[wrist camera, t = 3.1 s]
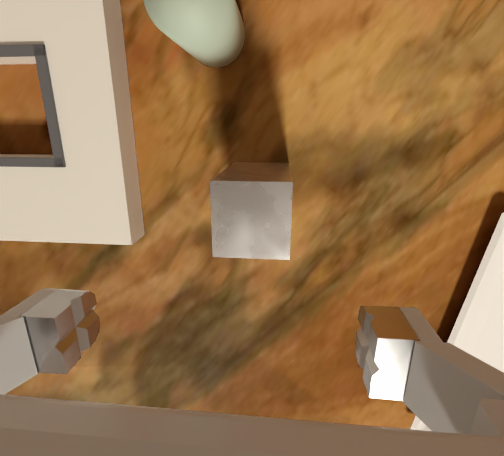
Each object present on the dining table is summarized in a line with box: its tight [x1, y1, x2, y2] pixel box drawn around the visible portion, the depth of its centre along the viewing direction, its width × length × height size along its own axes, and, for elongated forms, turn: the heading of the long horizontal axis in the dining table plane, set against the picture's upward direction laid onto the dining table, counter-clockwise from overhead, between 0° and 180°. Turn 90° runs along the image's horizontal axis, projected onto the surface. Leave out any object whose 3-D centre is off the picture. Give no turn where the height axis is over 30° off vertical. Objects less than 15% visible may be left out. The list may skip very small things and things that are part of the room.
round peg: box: [143, 0, 245, 68], centre depth 22 cm, size 5×5×9 cm
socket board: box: [0, 0, 145, 245], centre depth 28 cm, size 24×20×3 cm
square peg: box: [210, 162, 293, 260], centre depth 25 cm, size 5×5×11 cm
